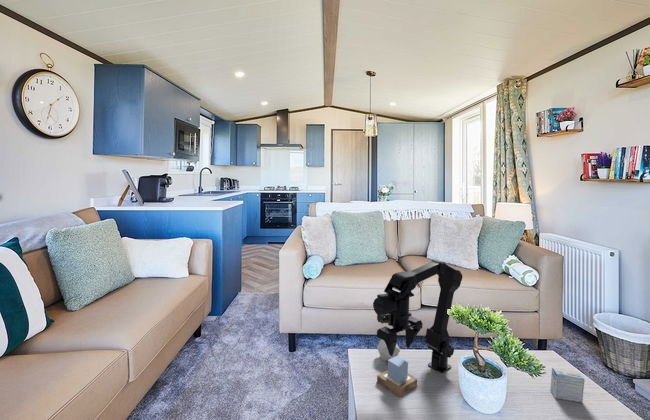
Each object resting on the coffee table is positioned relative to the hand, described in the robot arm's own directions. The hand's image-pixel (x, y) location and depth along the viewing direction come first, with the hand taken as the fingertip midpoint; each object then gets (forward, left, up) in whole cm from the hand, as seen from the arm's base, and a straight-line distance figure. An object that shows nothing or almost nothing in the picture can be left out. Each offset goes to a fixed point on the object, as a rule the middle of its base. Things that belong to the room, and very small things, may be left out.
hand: (399, 351), depth 113 cm
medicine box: (-40, +39, -12) cm, 57 cm away
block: (+1, 0, -9) cm, 9 cm away
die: (-9, -13, -12) cm, 20 cm away
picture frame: (+1, 0, -12) cm, 12 cm away
